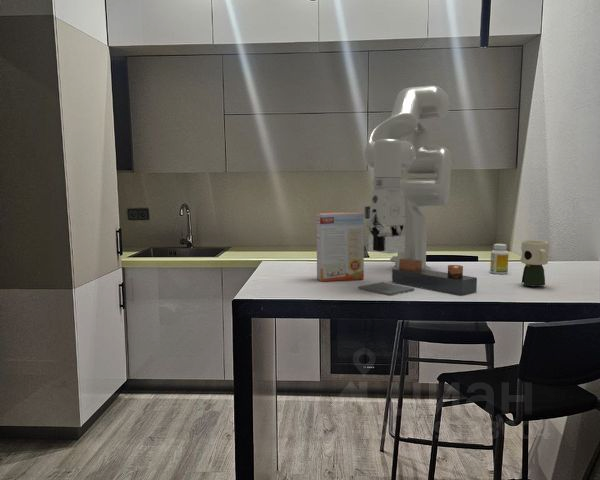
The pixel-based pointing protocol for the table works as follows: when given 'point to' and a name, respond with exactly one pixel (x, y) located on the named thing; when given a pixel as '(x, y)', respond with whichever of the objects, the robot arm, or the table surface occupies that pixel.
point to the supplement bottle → (499, 259)
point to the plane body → (434, 278)
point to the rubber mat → (386, 288)
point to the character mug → (534, 261)
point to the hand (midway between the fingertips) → (386, 249)
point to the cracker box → (340, 246)
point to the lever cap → (390, 243)
